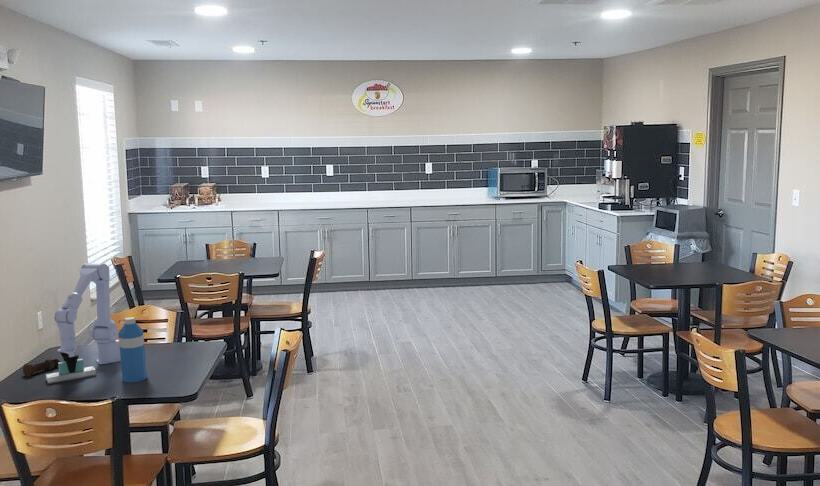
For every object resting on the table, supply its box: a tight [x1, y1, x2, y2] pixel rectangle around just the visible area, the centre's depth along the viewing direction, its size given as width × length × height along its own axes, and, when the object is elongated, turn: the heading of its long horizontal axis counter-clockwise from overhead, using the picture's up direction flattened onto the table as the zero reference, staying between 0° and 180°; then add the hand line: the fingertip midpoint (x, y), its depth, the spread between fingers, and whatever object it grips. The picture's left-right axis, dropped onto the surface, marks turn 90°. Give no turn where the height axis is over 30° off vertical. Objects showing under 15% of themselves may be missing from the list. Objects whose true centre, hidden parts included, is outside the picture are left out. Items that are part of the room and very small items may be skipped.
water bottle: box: [118, 316, 148, 383], centre depth 307 cm, size 9×9×25 cm
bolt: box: [22, 358, 61, 377], centre depth 324 cm, size 6×5×15 cm
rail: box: [45, 365, 97, 385], centre depth 313 cm, size 18×6×2 cm, turn 122°
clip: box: [57, 358, 85, 375], centre depth 313 cm, size 9×2×6 cm, turn 122°
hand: (70, 370), depth 313 cm, fingers open, 7 cm apart
